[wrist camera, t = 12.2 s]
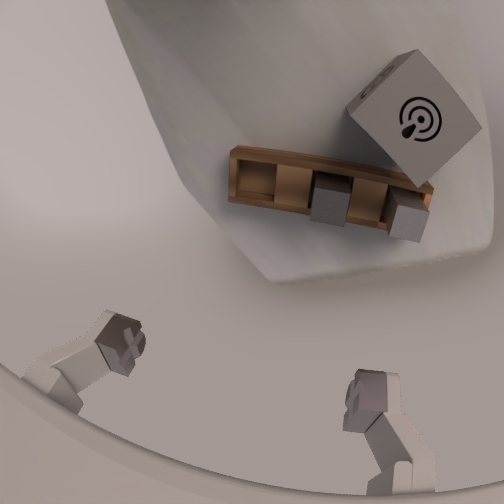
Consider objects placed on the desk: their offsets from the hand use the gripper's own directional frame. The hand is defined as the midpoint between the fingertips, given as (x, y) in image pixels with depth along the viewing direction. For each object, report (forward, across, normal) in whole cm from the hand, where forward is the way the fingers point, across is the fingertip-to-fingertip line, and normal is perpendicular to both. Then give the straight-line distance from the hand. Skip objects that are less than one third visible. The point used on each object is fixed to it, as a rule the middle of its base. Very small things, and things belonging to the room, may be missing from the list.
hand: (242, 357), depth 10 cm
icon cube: (+34, -11, -6) cm, 36 cm away
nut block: (+32, -13, +6) cm, 35 cm away
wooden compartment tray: (+33, -3, +6) cm, 34 cm away
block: (+32, -3, +6) cm, 33 cm away
